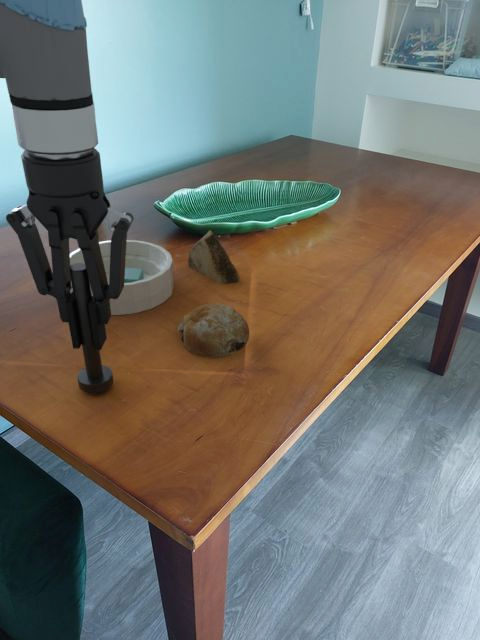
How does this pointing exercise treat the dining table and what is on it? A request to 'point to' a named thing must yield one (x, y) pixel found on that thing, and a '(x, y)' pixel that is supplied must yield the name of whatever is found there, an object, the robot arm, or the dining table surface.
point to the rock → (212, 260)
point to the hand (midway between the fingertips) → (90, 342)
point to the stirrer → (88, 336)
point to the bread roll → (214, 331)
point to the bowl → (140, 292)
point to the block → (133, 275)
